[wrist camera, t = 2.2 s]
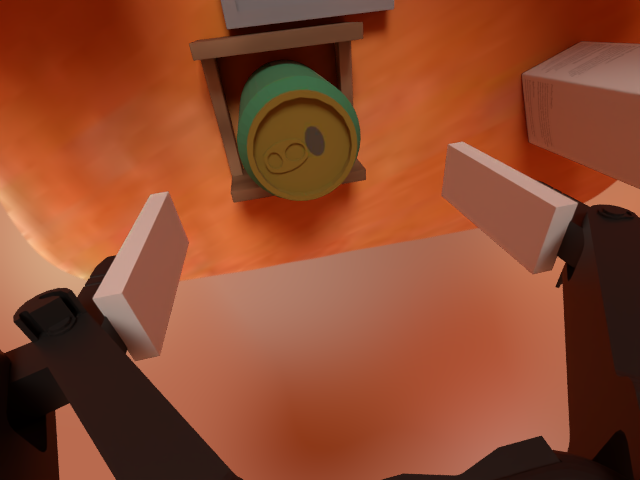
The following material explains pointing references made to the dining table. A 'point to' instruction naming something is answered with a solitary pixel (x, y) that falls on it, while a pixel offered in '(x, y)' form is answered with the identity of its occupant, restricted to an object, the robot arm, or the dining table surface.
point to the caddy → (269, 41)
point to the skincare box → (588, 107)
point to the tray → (293, 10)
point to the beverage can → (296, 131)
